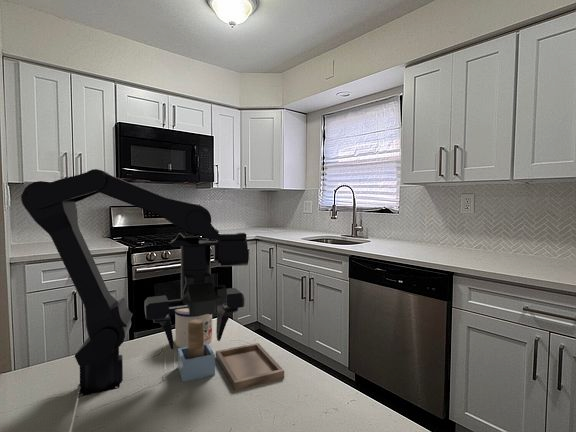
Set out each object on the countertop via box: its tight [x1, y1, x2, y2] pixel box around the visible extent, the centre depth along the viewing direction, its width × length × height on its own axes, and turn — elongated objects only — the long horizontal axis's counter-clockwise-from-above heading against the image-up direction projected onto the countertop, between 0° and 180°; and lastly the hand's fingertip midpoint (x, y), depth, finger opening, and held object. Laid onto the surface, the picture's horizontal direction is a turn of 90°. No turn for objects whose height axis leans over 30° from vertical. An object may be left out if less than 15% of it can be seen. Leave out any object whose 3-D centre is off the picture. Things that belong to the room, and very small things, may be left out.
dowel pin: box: [188, 319, 204, 359], centre depth 66 cm, size 3×3×10 cm
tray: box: [215, 342, 285, 391], centre depth 68 cm, size 10×14×2 cm
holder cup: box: [177, 343, 216, 383], centre depth 67 cm, size 6×6×4 cm
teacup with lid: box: [173, 308, 213, 348], centre depth 82 cm, size 12×9×12 cm
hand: (195, 344), depth 66 cm, fingers open, 9 cm apart
